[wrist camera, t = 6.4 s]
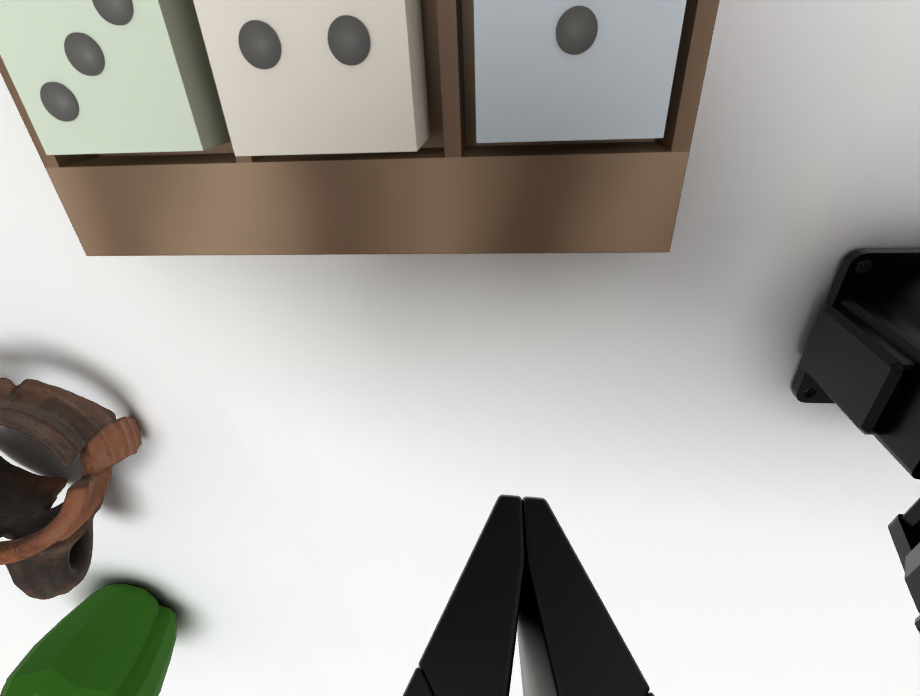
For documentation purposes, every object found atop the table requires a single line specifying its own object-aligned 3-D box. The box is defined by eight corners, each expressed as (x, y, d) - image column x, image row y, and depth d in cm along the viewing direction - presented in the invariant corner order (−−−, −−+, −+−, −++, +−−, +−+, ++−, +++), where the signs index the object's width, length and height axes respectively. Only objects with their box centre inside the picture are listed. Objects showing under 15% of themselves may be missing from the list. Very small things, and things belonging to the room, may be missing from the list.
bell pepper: (184, 577, 32) (69, 766, 24) (206, 640, 37) (116, 819, 28) (61, 559, 32) (-97, 741, 24) (98, 625, 37) (-24, 797, 28)
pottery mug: (-71, 374, 25) (-233, 430, 17) (129, 326, 28) (65, 357, 20) (31, 564, 28) (-67, 682, 21) (203, 506, 31) (172, 593, 23)
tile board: (739, -288, 11) (791, -363, 9) (650, 228, 17) (669, 252, 15) (-48, -205, 13) (-152, -251, 11) (131, 233, 19) (86, 255, 17)
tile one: (673, -89, 12) (707, -117, 10) (642, 125, 15) (664, 138, 13) (477, -76, 13) (471, -100, 11) (481, 130, 15) (476, 143, 13)
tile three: (191, -56, 14) (133, -74, 11) (241, 137, 16) (201, 151, 14) (29, -44, 14) (-57, -60, 12) (103, 141, 17) (44, 155, 14)
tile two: (415, -80, 12) (395, -107, 10) (429, 136, 15) (416, 152, 13) (224, -67, 12) (166, -89, 10) (271, 141, 15) (233, 157, 13)
